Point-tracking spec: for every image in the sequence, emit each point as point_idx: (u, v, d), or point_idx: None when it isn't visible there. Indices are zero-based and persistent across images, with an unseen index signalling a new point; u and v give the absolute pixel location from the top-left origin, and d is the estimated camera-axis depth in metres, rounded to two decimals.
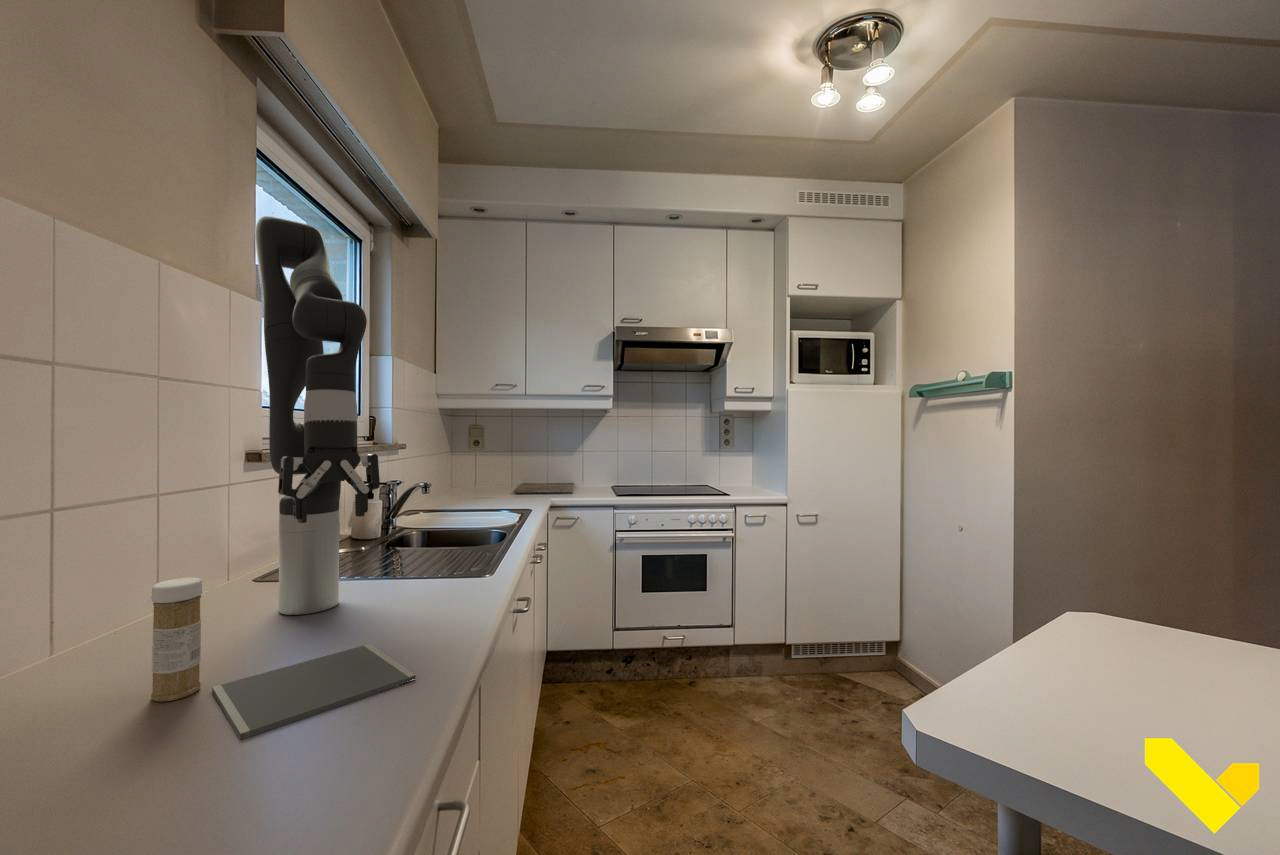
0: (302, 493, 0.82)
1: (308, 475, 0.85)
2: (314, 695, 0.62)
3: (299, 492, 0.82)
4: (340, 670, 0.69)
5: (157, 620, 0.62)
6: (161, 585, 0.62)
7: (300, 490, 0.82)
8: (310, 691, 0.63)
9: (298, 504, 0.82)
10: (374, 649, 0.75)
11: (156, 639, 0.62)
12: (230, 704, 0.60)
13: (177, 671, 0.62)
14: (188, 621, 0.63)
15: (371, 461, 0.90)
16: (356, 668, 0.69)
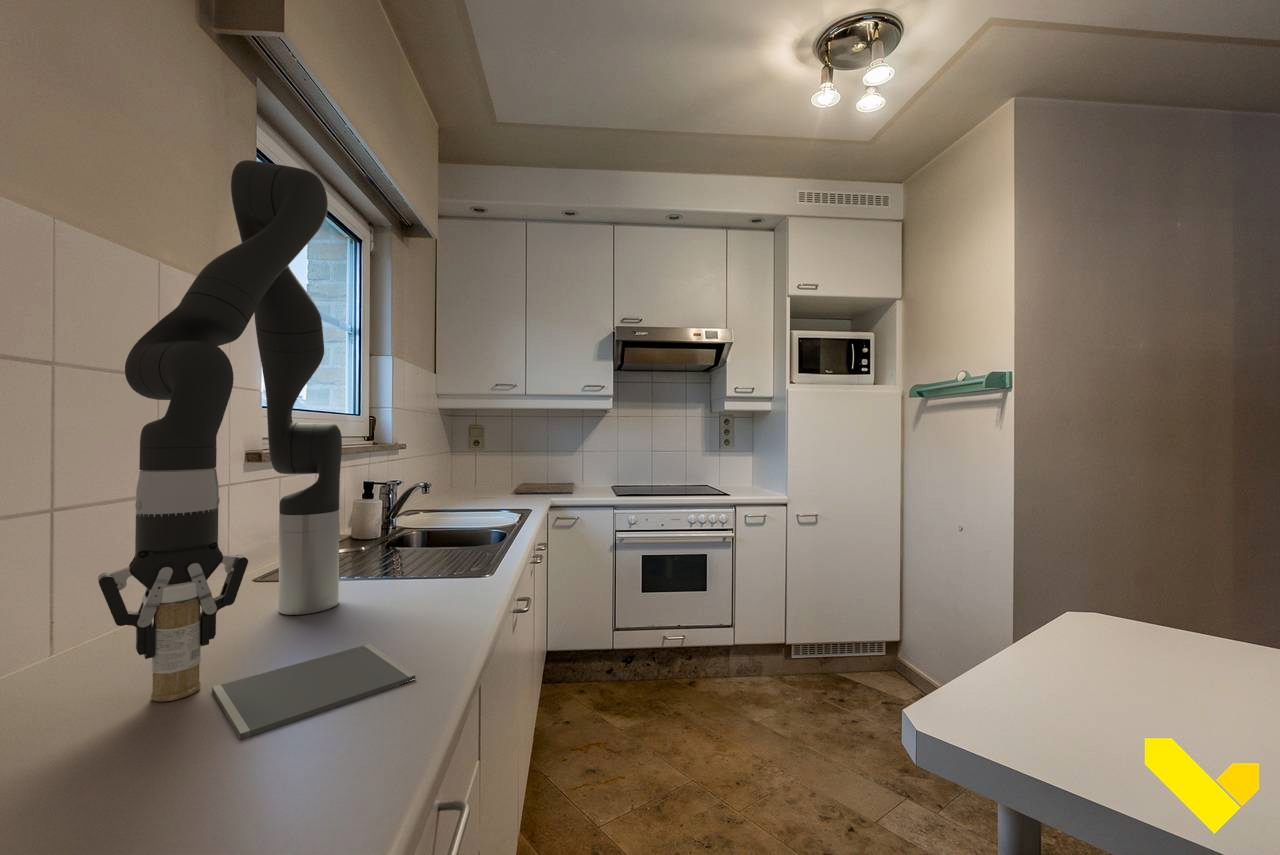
0: (147, 619, 0.61)
1: None
2: (314, 695, 0.62)
3: (142, 619, 0.61)
4: (340, 670, 0.69)
5: (157, 620, 0.62)
6: None
7: (144, 616, 0.61)
8: (310, 691, 0.63)
9: (141, 634, 0.61)
10: (374, 649, 0.75)
11: (156, 639, 0.62)
12: (230, 704, 0.60)
13: (177, 671, 0.62)
14: (188, 621, 0.63)
15: (236, 566, 0.67)
16: (356, 668, 0.69)
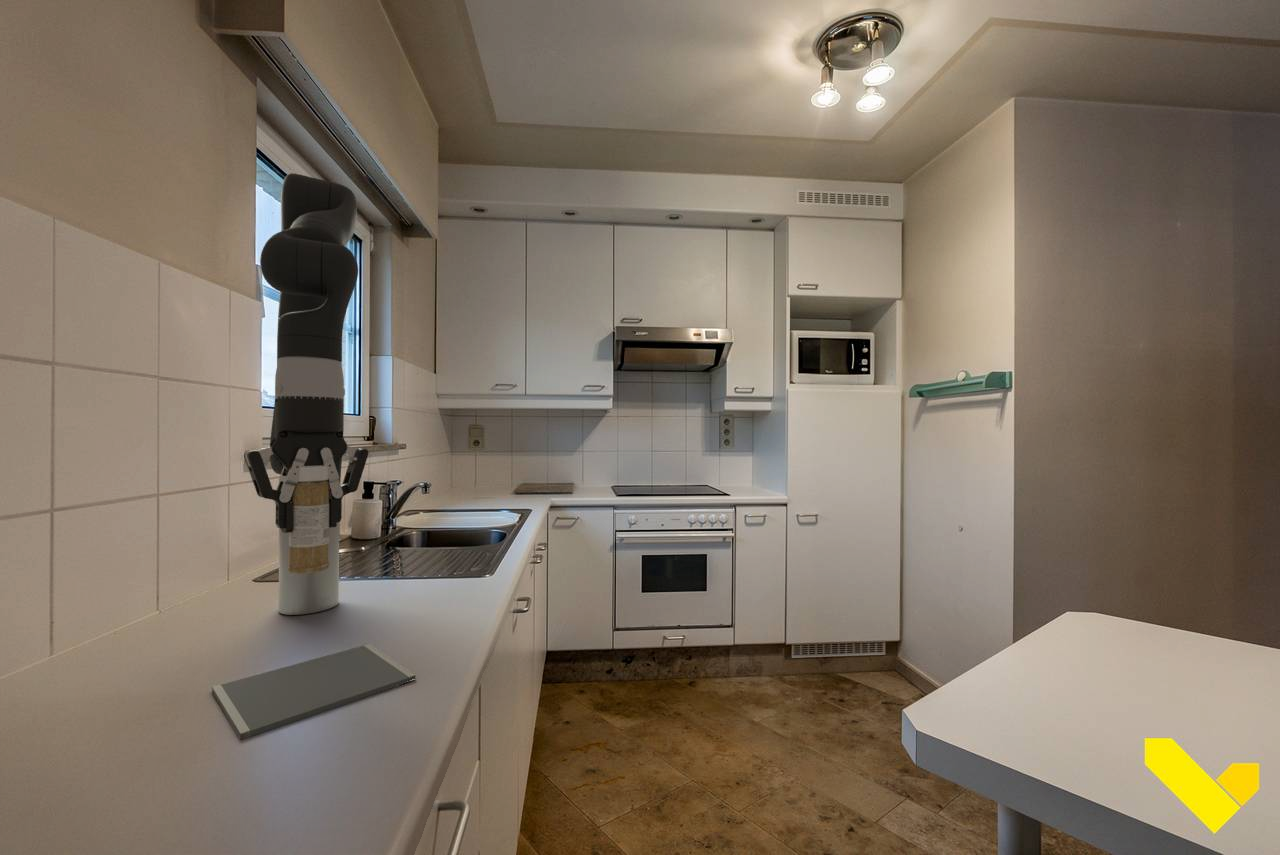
0: (287, 496, 0.65)
1: (286, 469, 0.67)
2: (314, 695, 0.62)
3: (283, 494, 0.65)
4: (340, 670, 0.69)
5: (295, 498, 0.66)
6: None
7: (285, 492, 0.65)
8: (310, 691, 0.63)
9: (282, 509, 0.65)
10: (374, 649, 0.75)
11: (294, 515, 0.66)
12: (230, 704, 0.60)
13: (313, 546, 0.67)
14: (321, 501, 0.67)
15: (358, 456, 0.72)
16: (356, 668, 0.69)
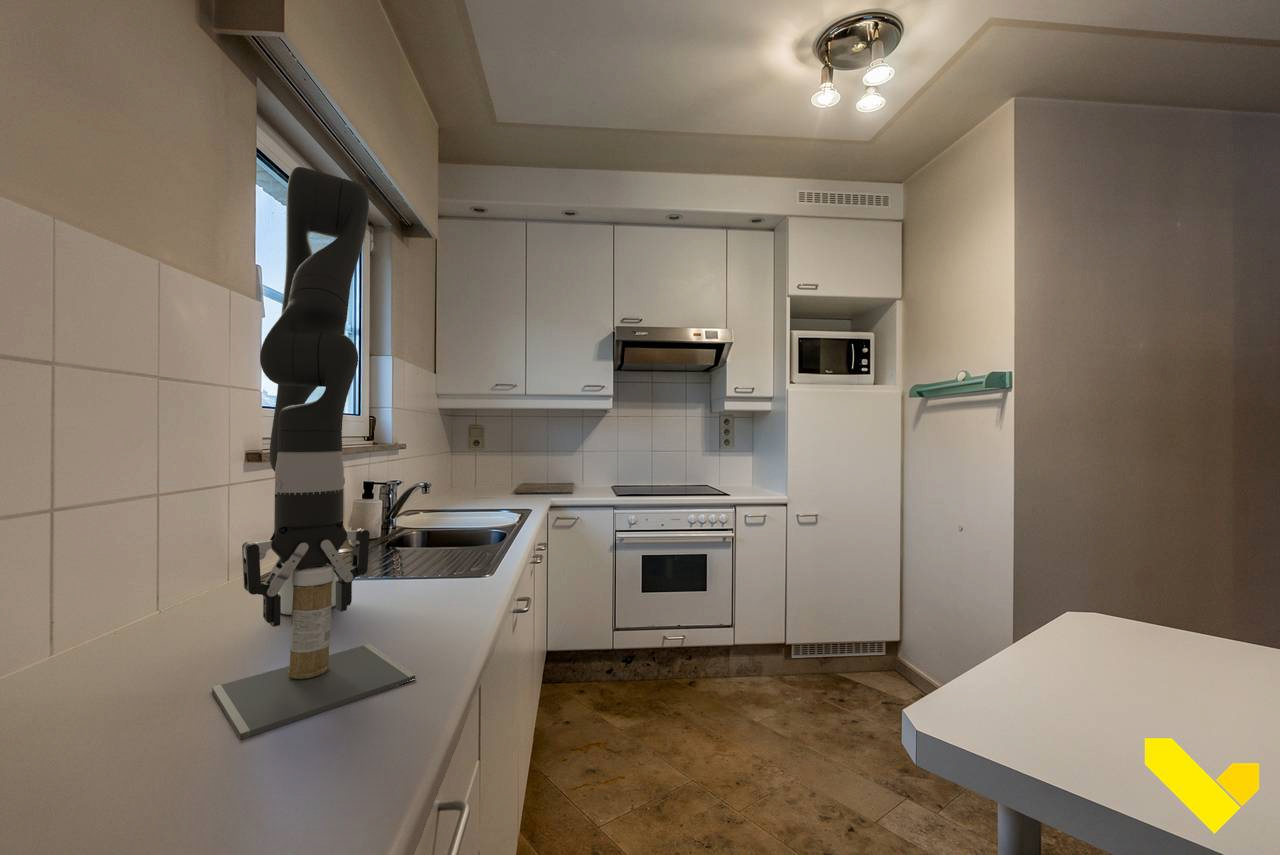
0: (275, 589, 0.64)
1: (281, 561, 0.67)
2: (314, 695, 0.62)
3: (271, 588, 0.64)
4: (340, 670, 0.69)
5: (297, 602, 0.66)
6: (301, 569, 0.67)
7: (272, 586, 0.64)
8: (310, 691, 0.63)
9: (269, 603, 0.64)
10: (374, 649, 0.75)
11: (296, 620, 0.66)
12: (230, 704, 0.60)
13: (314, 650, 0.66)
14: (323, 604, 0.67)
15: (360, 539, 0.72)
16: (356, 668, 0.69)
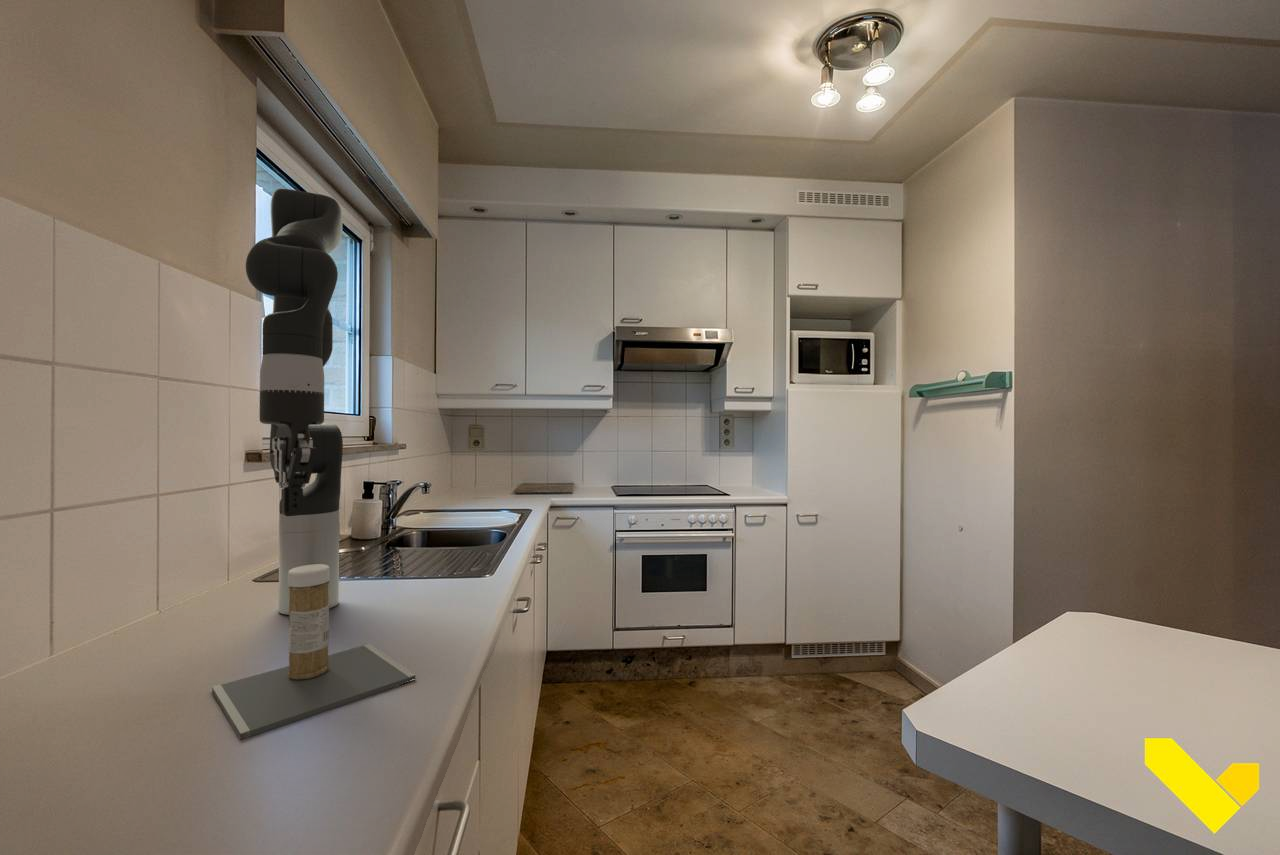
0: (280, 482, 0.73)
1: None
2: (314, 695, 0.62)
3: (279, 480, 0.73)
4: (340, 670, 0.69)
5: (294, 603, 0.66)
6: (297, 571, 0.66)
7: (280, 478, 0.73)
8: (310, 691, 0.63)
9: None
10: (374, 649, 0.75)
11: (293, 621, 0.66)
12: (230, 704, 0.60)
13: (313, 651, 0.66)
14: (320, 604, 0.67)
15: (293, 453, 0.70)
16: (356, 668, 0.69)
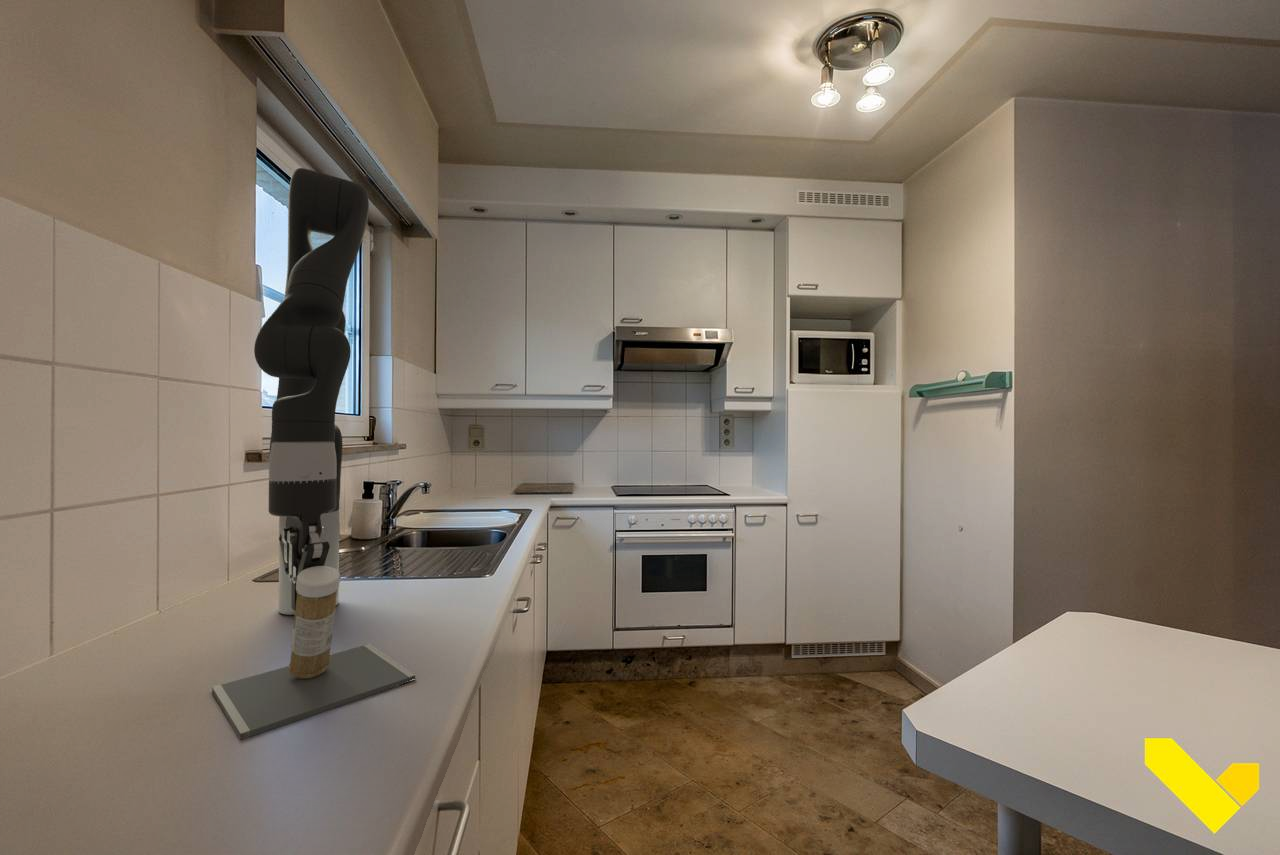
0: (290, 575, 0.69)
1: None
2: (314, 695, 0.62)
3: (289, 573, 0.69)
4: (340, 670, 0.69)
5: (301, 610, 0.64)
6: (306, 579, 0.63)
7: (290, 571, 0.69)
8: (310, 691, 0.63)
9: None
10: (374, 649, 0.75)
11: (298, 626, 0.64)
12: (230, 704, 0.60)
13: (315, 655, 0.66)
14: (327, 612, 0.65)
15: (304, 550, 0.66)
16: (356, 668, 0.69)
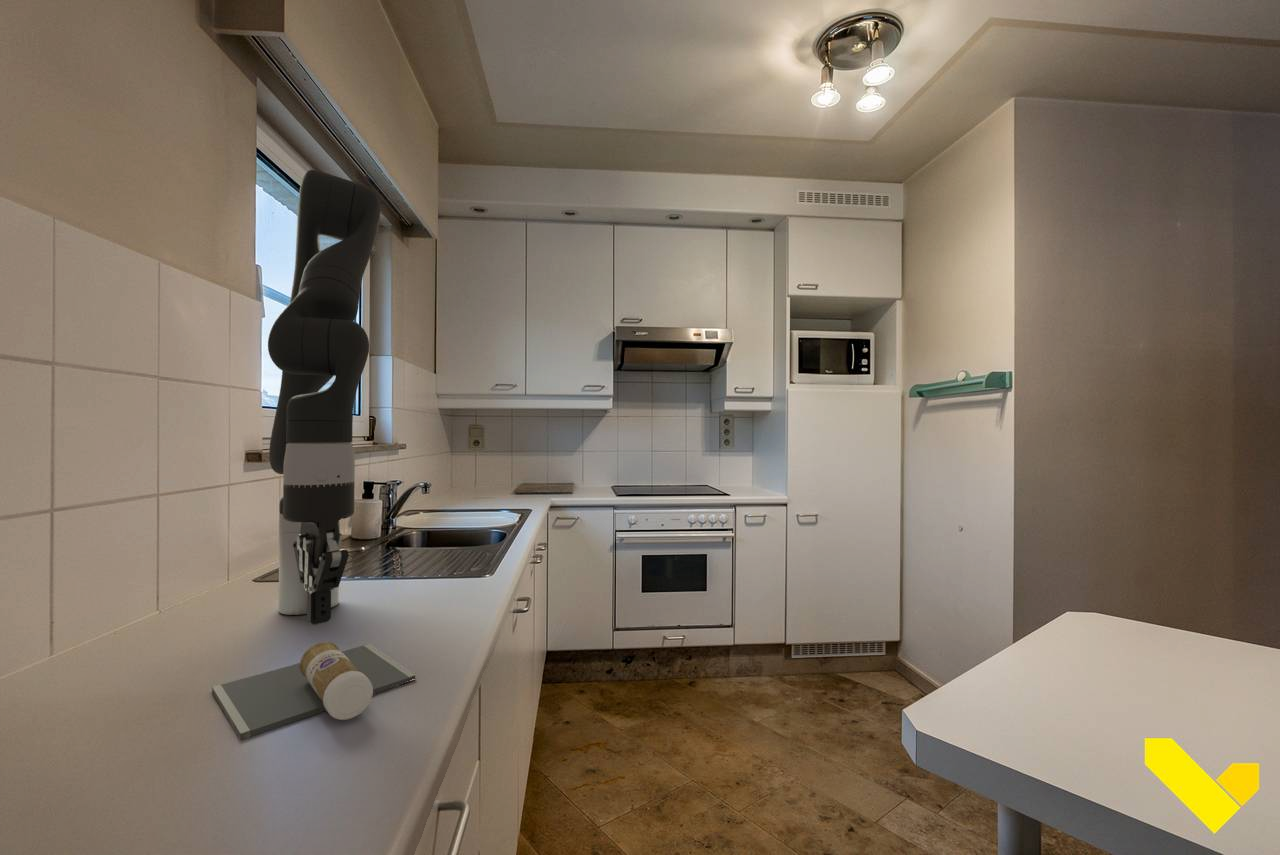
0: (306, 585, 0.65)
1: None
2: (314, 695, 0.62)
3: (305, 583, 0.65)
4: None
5: (321, 697, 0.59)
6: (334, 708, 0.56)
7: (305, 580, 0.65)
8: (310, 691, 0.63)
9: None
10: (374, 649, 0.75)
11: (315, 691, 0.60)
12: (230, 704, 0.60)
13: None
14: None
15: (321, 558, 0.61)
16: (356, 668, 0.69)
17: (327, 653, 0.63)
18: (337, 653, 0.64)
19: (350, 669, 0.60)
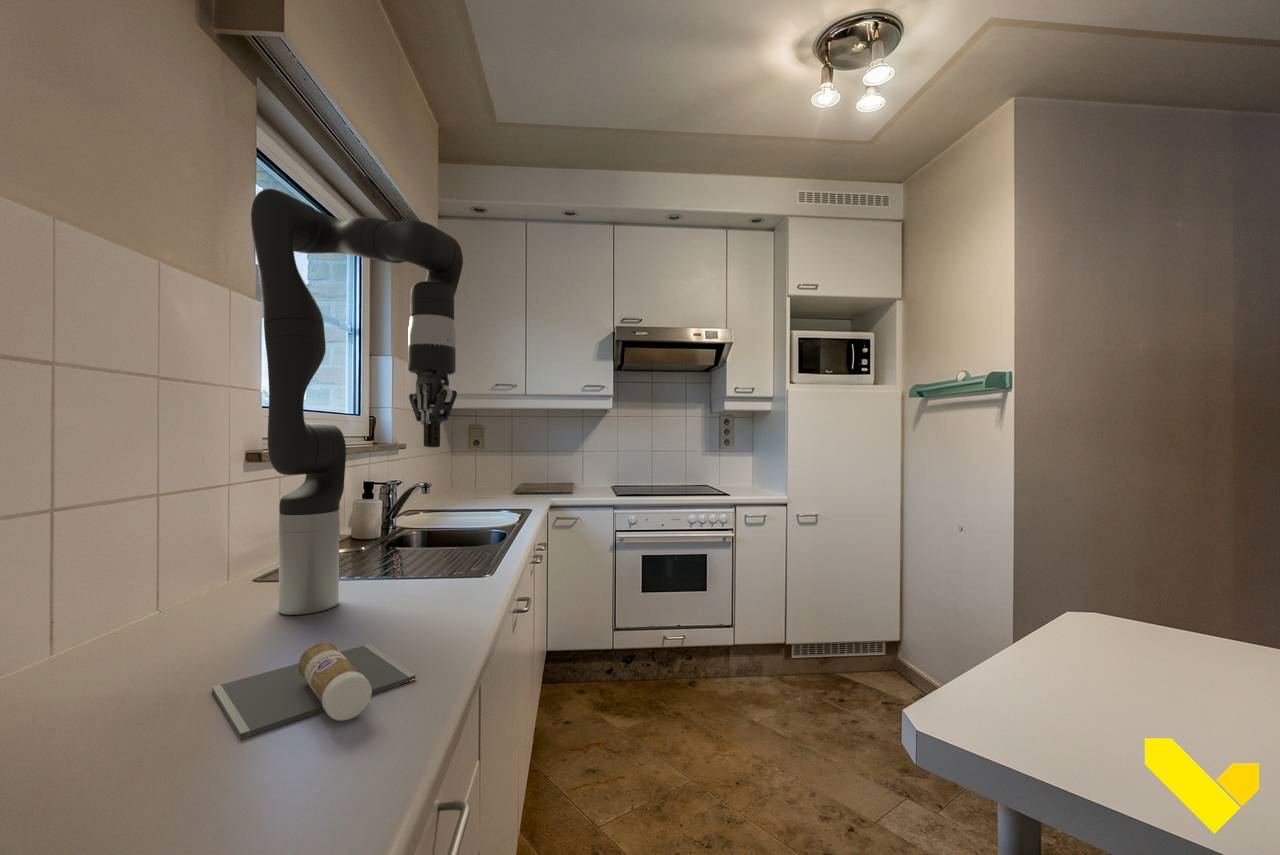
0: (423, 420, 0.90)
1: None
2: (314, 695, 0.62)
3: (422, 419, 0.90)
4: None
5: (320, 699, 0.58)
6: (333, 709, 0.56)
7: (422, 417, 0.90)
8: (310, 691, 0.63)
9: None
10: (374, 649, 0.75)
11: (314, 692, 0.60)
12: (230, 704, 0.60)
13: None
14: None
15: (439, 394, 0.87)
16: (356, 668, 0.69)
17: (325, 654, 0.63)
18: (335, 653, 0.64)
19: (348, 670, 0.59)
